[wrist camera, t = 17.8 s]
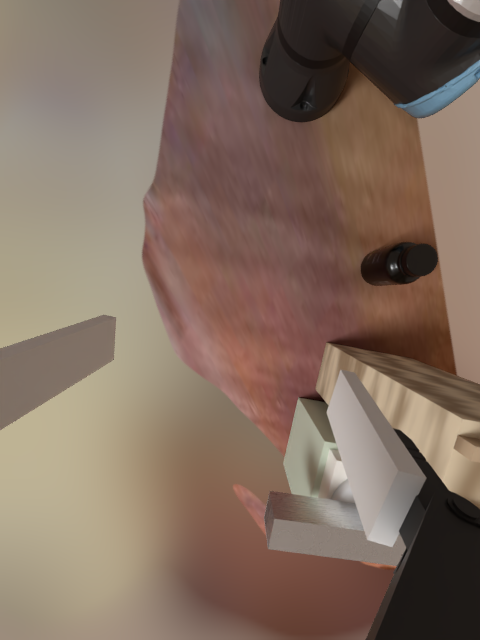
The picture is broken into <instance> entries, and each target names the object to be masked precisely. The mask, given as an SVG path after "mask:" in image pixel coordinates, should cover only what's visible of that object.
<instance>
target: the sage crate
mask: <svg viewBox="0 0 480 640" xmlns="http://www.w3.org/2000/svg"><path fill="white" fill-rule="evenodd" d="M328 407H329V405H328V404H327V403H326V402H321V401H315V400H310V399H304V398H298V402H297V406H296V411H295V415H294V419H293V424H292V428H291V432H290V437H289V441H288V445H287V450H286V454H285V458H284V463H283V464H284V468H285V471H286V475H287V479H288V482H289V486H290V489H291V493H292V494H295V495H302V496H309V497H316V498H317V497H318V493H319V489H320V485H321V481H322V477H323V473H324V469H325V465H326V461H327V457H328V453H329V449H334V450H338V447H337V444H336V441H335V438H334V434H333V431H332V428H331V425H330V422H329V419H328V416H327V410H328Z"/></svg>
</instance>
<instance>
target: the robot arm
mask: <svg viewBox="0 0 480 640" xmlns="http://www.w3.org/2000/svg"><path fill="white" fill-rule="evenodd" d="M350 62H351V63H352V64H353V65H354V66H355V67H356V68H357V69H358V70H360V71H361V72H362V73H363V74H364V75H365V76H366V77H367V78H368V79H369V80H370V81H371V82H372V83H373V84H374V85H375V86H376V87H377V88H379V89H380V90H381V91H382V92H383V93H384V94H385V95H386V96H387V97H388V98H389V99H390V100H391V101H392V102H393V103H394V105H396V106H397V107H399V108H402V109H403V110H405V111H406V112H407V113H409V114H410V115H411V116H413V117H415V118H425V117H428V116H430V115H433V114H435V113H437V112H438V111H440V110H442V109H443V108H445V107H446V106H448V105H449V104H450V103H452V102H453V101H454V100H456V99H457V98H458V97H460V96H461V95H462V94H463V93H465V92H466V91H467V90H468V89H469V88H471V87H472V86H473V85H474V84H475V83H476V82H477V81H478V80H479V78H480V0H280V7H279V13H278V17H277V19H276V21H275V23H274V26H273V28H272V30H271V32H270V34H269V36H268V38H267V40H266V42H265V45H264V48H263V51H262V55H261V62H260V71H259V80H260V87H261V90H262V93H263V96H264V98H265V100H266V102H267V103H268V105H269V106H270V107H271V108H272V109H273V110H274V111H275V112H276V113H277V114H278V115H280V116H281V117H283V118H285V119H288V120H291V121H295V122H307V121H311V120H315V119H317V118H319V117H321V116H323V115H324V114H325V113H327V112H328V111H329V110H330V109H331V108H332V107H333V105H334V104H335V103H336V101H337V99H338V97H339V96H340V94H341V92H342V90H343V88H344V86H345V83H346V80H347V77H348V72H349V64H350ZM115 325H116V317H111V316H107V315H102V316H99V317H96V318H93V319H90V320H87V321H84V322H81V323H77V324H74V325H71V326H68V327H65V328H62V329H59V330H56V331H53V332H50V333H47V334H44V335H40V336H37V337H34V338H31V339H28V340H25V341H22V342H19V343H16V344H13V345H10V346H7V347H4V348H0V430H1V429H3V428H4V427H6V426H8V425H9V424H11V423H13V422H14V421H16V420H17V419H19V418H20V417H22V416H24V415H25V414H27V413H29V412H30V411H32V410H33V409H35V408H37V407H38V406H40V405H42V404H43V403H45V402H46V401H48V400H49V399H51V398H53V397H54V396H56V395H58V394H59V393H61V392H62V391H64V390H66V389H67V388H69V387H70V386H72V385H74V384H75V383H77V382H79V381H80V380H82V379H83V378H85V377H87V376H88V375H90V374H91V373H93V372H95V371H96V370H98V369H100V368H101V367H103V366H104V365H106V364H108V363H109V362H111V361H112V360H114V344H115ZM327 416H328V419H329V422H330V425H331V428H332V431H333V434H334V438H335V441H336V444H337V447H338V450H339V453H340V456H341V460H342V463H343V466H344V469H345V472H346V475H347V478H348V481H349V485H350V488H351V491H352V494H353V497H354V500H355V503H356V507H357V510H358V513H359V516H360V519H361V522H362V525H363V528H364V532H365V535H366V538H367V540H369V541H372V542H376V543H379V544H383V545H386V546H390V547H393V545H394V543H395V541H396V539H397V537H398V535H399V533H400V535H401V537H402V539H403V542H404V544H405V546H406V549H405V551H404V553H403V555H402V557H401V559H400V561H399V563H398V565H397V567H396V569H395V571H394V576H393V578H392V580H391V583H390V585H389V588H388V590H387V592H386V594H385V596H384V599H383V601H382V603H381V606H380V608H379V611H378V613H377V615H376V617H375V619H374V622H373V624H372V626H371V629H370V631H369V633H368V636H367V638H366V640H480V509H479V508H478V507H477V506H475V505H474V504H473V503H471V502H470V501H468V500H467V499H466V498H464V497H462V496H460V495H458V494H456V493H454V492H451V491H449V490H448V488H447V487H446V486H445V484H444V483H443V482H442V480H441V479H440V478H439V476H438V475H437V473H436V472H435V471H434V469H433V468H432V467H431V465H430V464H429V463H428V462H427V461H426V459H425V457H424V456H423V455H422V453H420V452H419V451H420V450H419V449H418V448H417V446H416V445H415V444H414V442H413V441H412V440H411V439H410V438H409V437H408V436H406V435H405V434H404V433H403V432H402V431H401V430H398V429H394V428H392V426H391V425H390V423H389V422H388V421H387V419H386V418H385V416H384V415H383V413H382V412H381V410H380V409H379V407H378V406H377V404H376V403H375V401H374V400H373V398H372V397H371V396H370V394H369V393H368V391H367V390H366V388H365V387H364V385H363V384H362V382H361V381H360V379H359V378H358V376H357V375H356V373H354V372H350V371H346V370H340V373H339V376H338V379H337V382H336V385H335V388H334V391H333V394H332V397H331V400H330V403H329V407H328V410H327Z"/></svg>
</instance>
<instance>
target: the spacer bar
mask: <svg viewBox="0 0 480 640" xmlns="http://www.w3.org/2000/svg"><path fill="white" fill-rule="evenodd" d="M264 521H265V528H266V536H267V544H268V549H272V550H279V551H287V552H295V553H303V554H310V555H318V556H325V557H333V558H341V559H348V560H355V561H363V562H370V563H378V564H386V565H393V566H397V565H398V563H399V561H400V559H401V557H402V555H403V553H404V551H405V549H406V546H405V544H404V542H403V539H402V537H401V535H400V533H399V535H398V537H397V539H396V541H395V543H394V545H393V547H390V546H386V545H383V544H379V543H376V542H372V541H369V540H367V538H366V535H365V532H364V528H363V525H362V522H361V519H360V516H359V513H358V510H357V507H356V503H351V502H344V501H338V500H330V499H323V498H316V497H309V496H302V495H295V494H288V493H280V492H274V491H270V492H269V497H268V501H267V506H266V511H265V516H264Z"/></svg>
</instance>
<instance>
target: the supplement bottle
mask: <svg viewBox="0 0 480 640" xmlns="http://www.w3.org/2000/svg"><path fill="white" fill-rule="evenodd" d="M437 259H438V257H437V252H436V251H435V249H434V248H433V247H431V246H430V245H428V244H415V243H412V242H401V243H398V244H394V245H391V246H388V247H385V248H382V249H379V250H376V251H373V252H371V253H369V254H368V255H367V256H366V257H365V258H364V259H363V261H362V264H361V274H362V277H363V279H364V280H365V281H366V282H367V283H369V284H371V285H374V286H385V285H400V284H409V283H412V282H414V281H416V280H417V279H418V278H420V277H421V276H425V275H427V274H429V273H431V272H432V271H433V270H434V268H435V267H436V265H437V262H438V260H437Z"/></svg>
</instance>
